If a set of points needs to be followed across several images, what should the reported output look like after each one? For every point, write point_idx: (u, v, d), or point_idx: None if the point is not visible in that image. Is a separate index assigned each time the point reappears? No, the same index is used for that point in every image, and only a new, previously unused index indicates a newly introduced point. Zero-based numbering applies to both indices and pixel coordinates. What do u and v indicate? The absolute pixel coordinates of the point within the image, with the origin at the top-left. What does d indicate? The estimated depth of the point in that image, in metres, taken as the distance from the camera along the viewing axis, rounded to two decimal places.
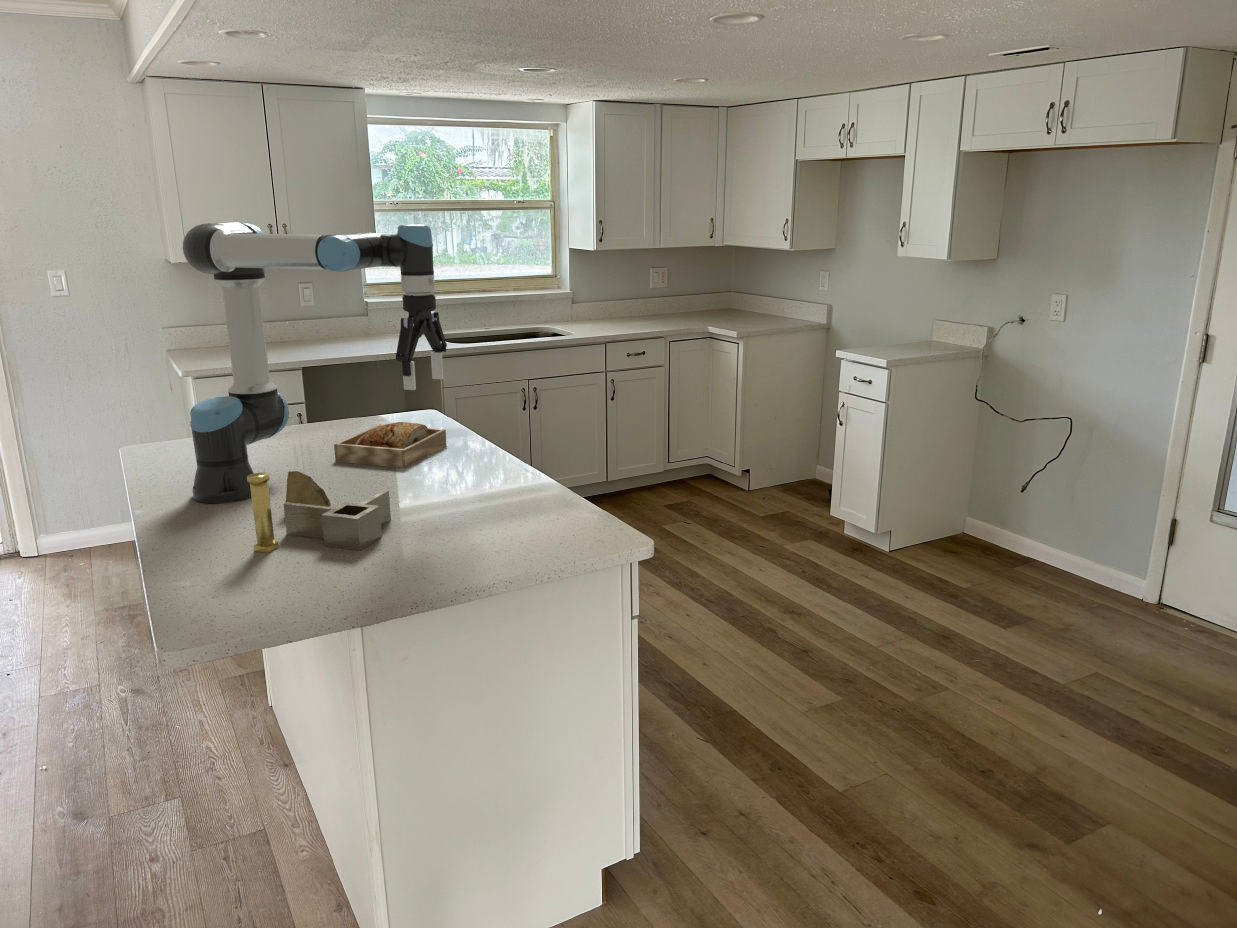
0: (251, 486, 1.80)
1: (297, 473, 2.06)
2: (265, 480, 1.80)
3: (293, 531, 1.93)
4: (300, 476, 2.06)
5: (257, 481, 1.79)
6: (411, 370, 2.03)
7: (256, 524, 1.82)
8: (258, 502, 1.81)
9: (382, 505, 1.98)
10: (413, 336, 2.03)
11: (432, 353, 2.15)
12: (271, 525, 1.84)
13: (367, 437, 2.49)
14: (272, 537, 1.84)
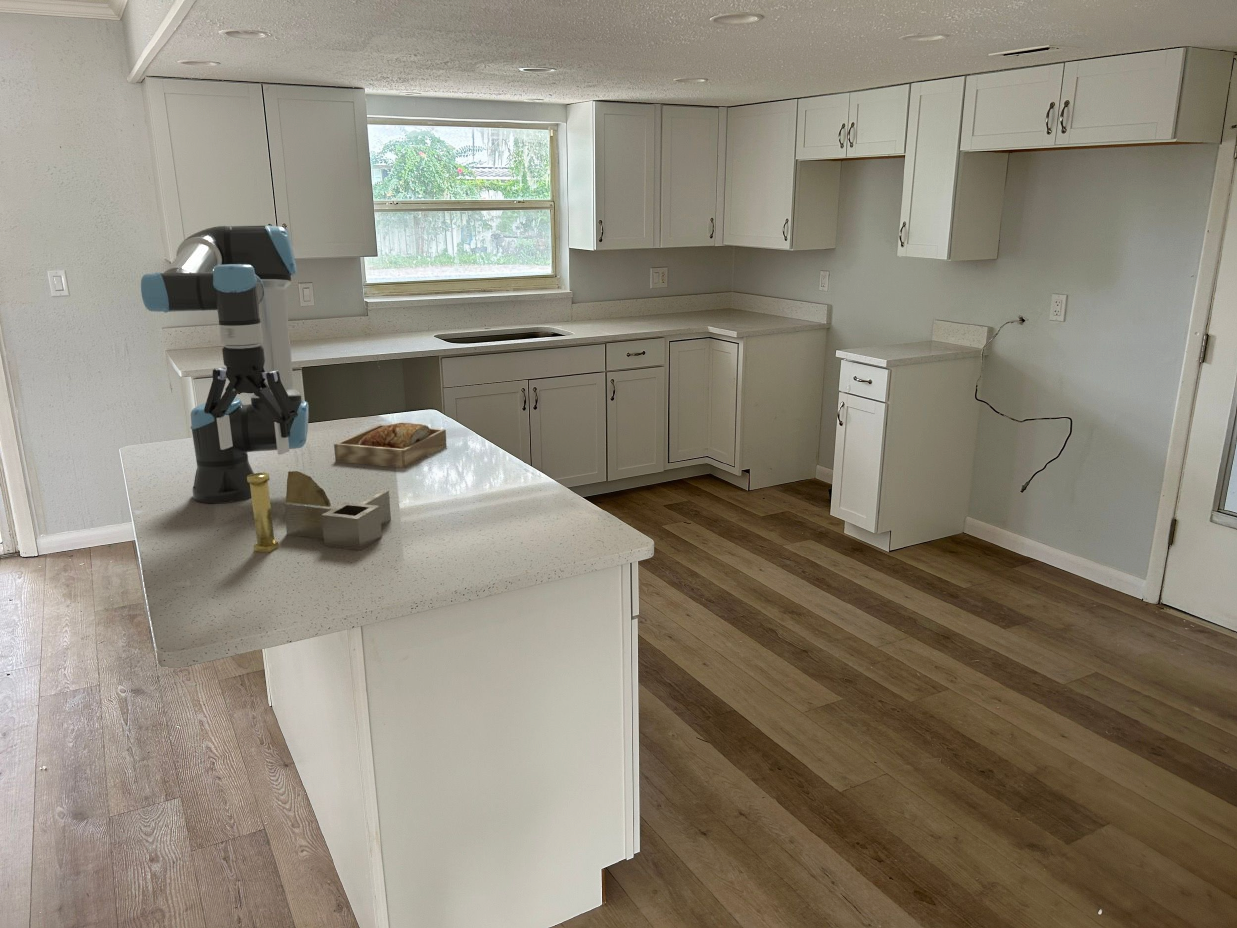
0: (251, 486, 1.80)
1: (297, 473, 2.06)
2: (265, 480, 1.80)
3: (293, 531, 1.93)
4: (300, 476, 2.06)
5: (257, 481, 1.79)
6: None
7: (256, 524, 1.82)
8: (258, 502, 1.81)
9: (382, 505, 1.98)
10: None
11: None
12: (271, 525, 1.84)
13: (369, 438, 2.49)
14: (272, 537, 1.84)
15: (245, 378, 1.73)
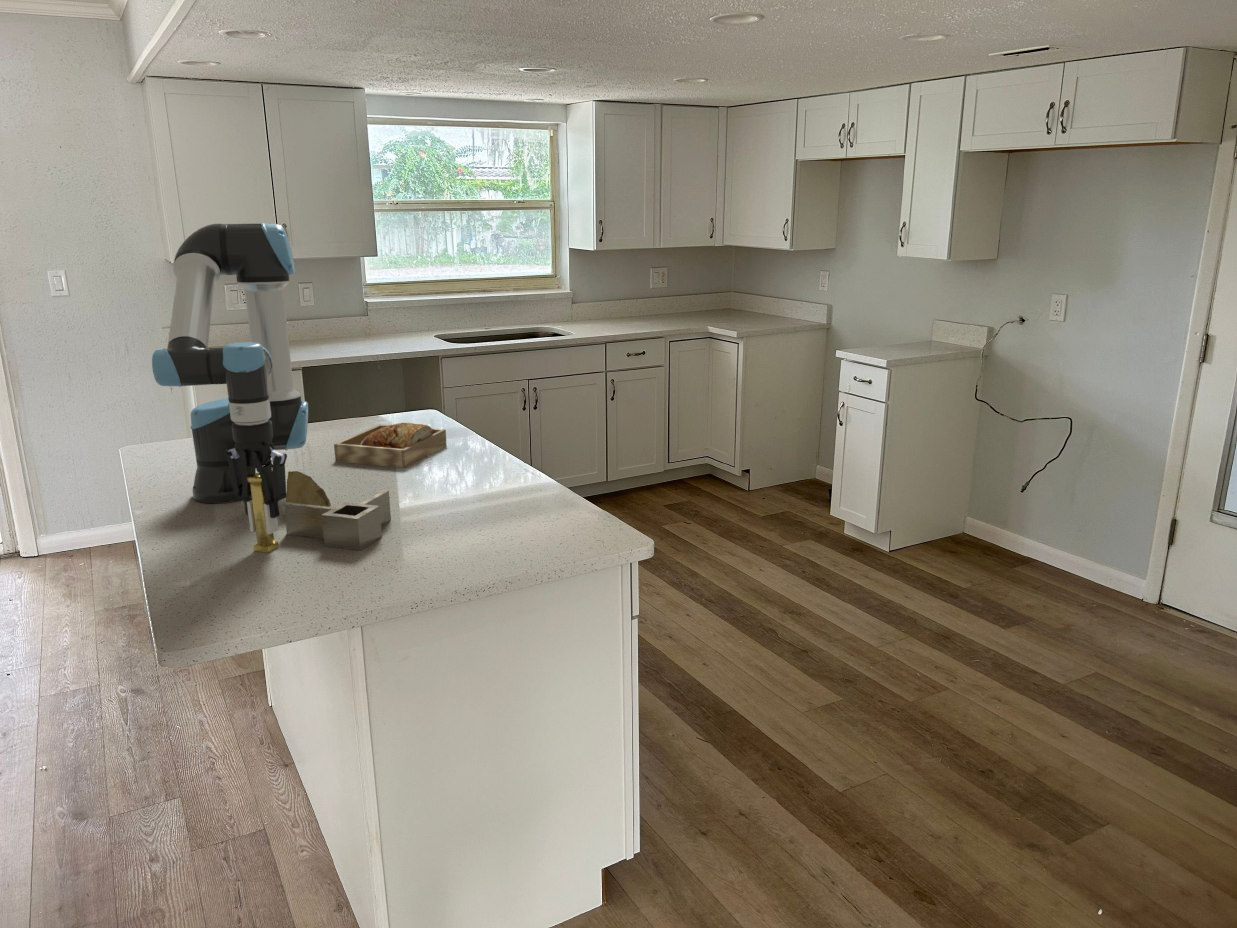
0: (251, 486, 1.80)
1: (297, 473, 2.06)
2: None
3: (293, 531, 1.93)
4: (300, 476, 2.06)
5: (257, 481, 1.79)
6: None
7: (256, 524, 1.82)
8: (258, 502, 1.81)
9: (382, 505, 1.98)
10: None
11: None
12: None
13: (371, 438, 2.49)
14: (272, 537, 1.84)
15: (255, 453, 1.77)
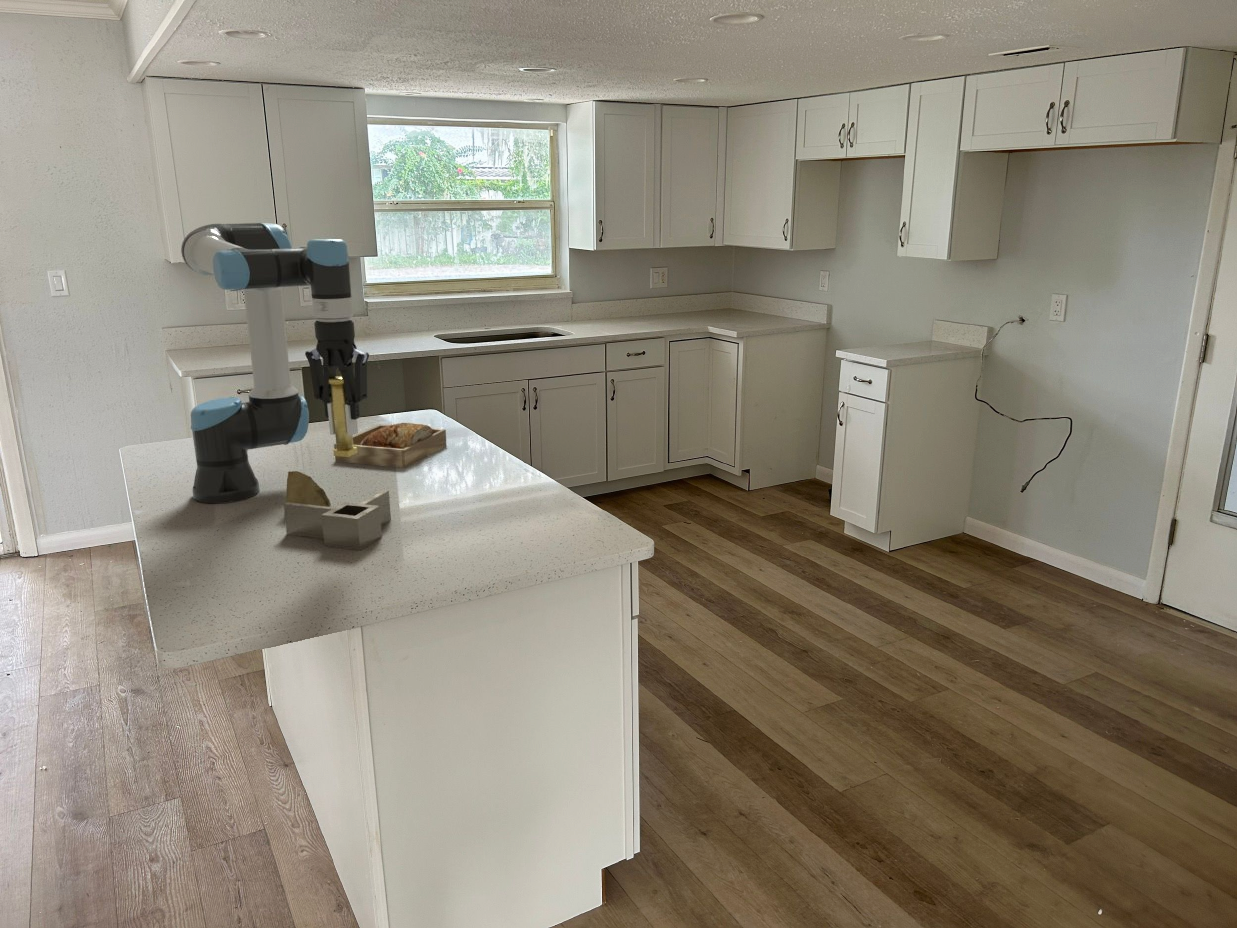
0: (332, 388, 1.79)
1: (297, 473, 2.06)
2: None
3: (293, 531, 1.93)
4: (300, 476, 2.06)
5: (339, 382, 1.78)
6: None
7: (336, 428, 1.81)
8: (339, 404, 1.79)
9: (382, 505, 1.98)
10: None
11: None
12: None
13: (371, 437, 2.49)
14: (352, 442, 1.83)
15: (337, 352, 1.76)
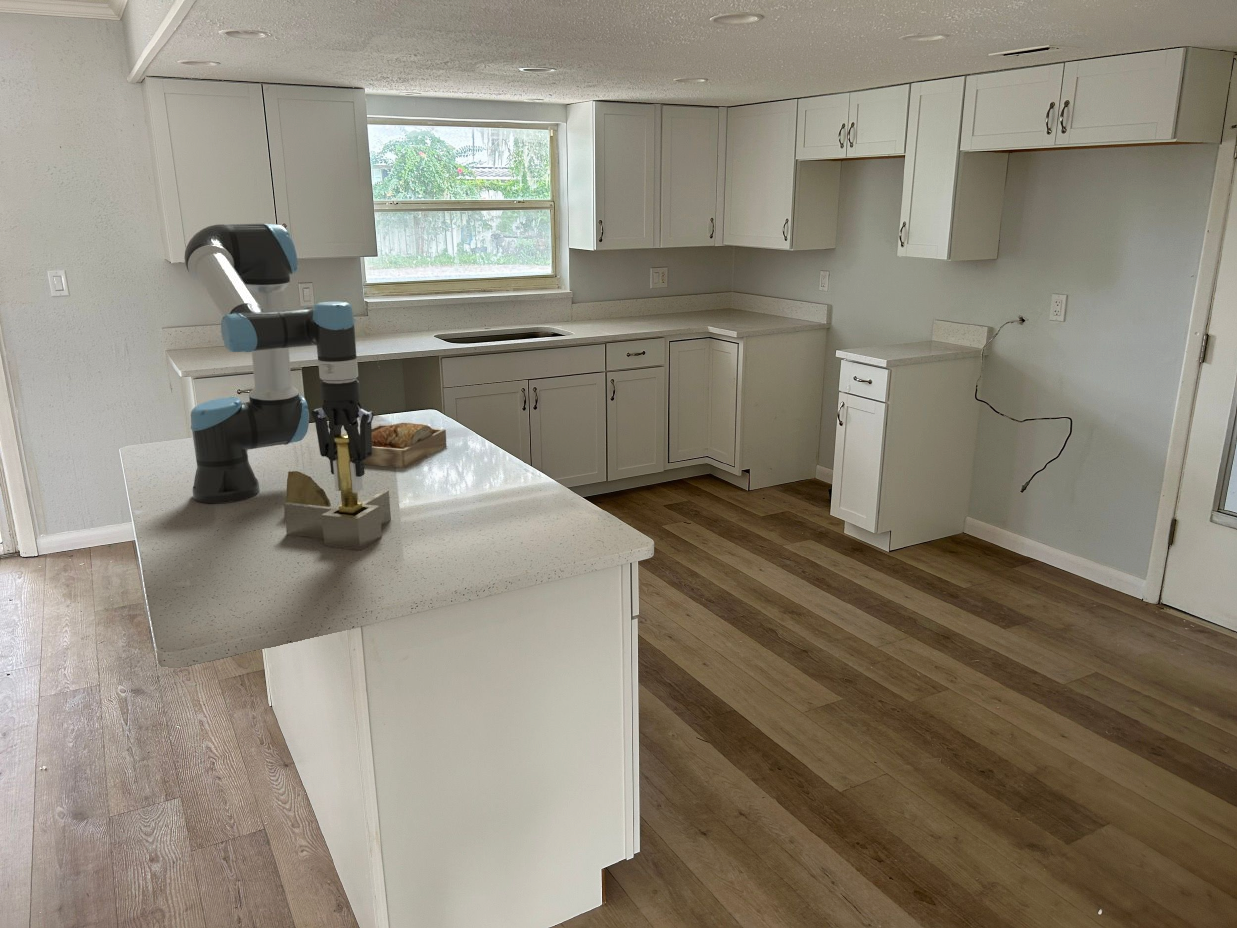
0: (338, 446, 1.82)
1: (297, 473, 2.06)
2: None
3: (293, 531, 1.93)
4: (300, 476, 2.06)
5: (344, 441, 1.81)
6: None
7: (342, 485, 1.84)
8: (344, 462, 1.83)
9: (382, 505, 1.98)
10: None
11: None
12: None
13: None
14: (357, 498, 1.86)
15: (343, 412, 1.79)
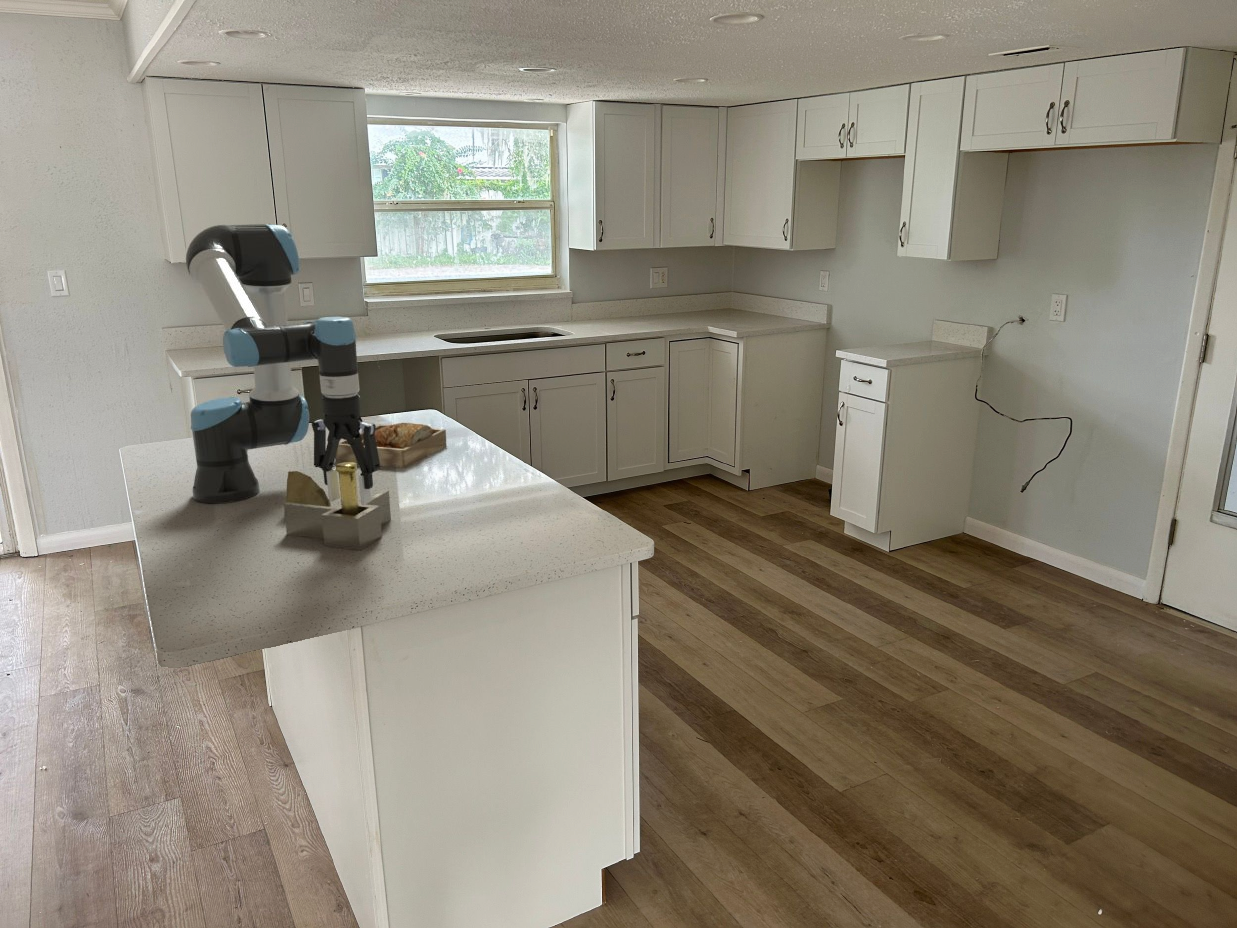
0: (340, 475, 1.84)
1: (297, 473, 2.06)
2: (354, 469, 1.84)
3: (293, 531, 1.93)
4: (300, 476, 2.06)
5: (346, 470, 1.83)
6: None
7: (344, 512, 1.86)
8: (347, 491, 1.85)
9: (382, 505, 1.98)
10: None
11: None
12: (358, 513, 1.88)
13: None
14: None
15: (344, 426, 1.80)
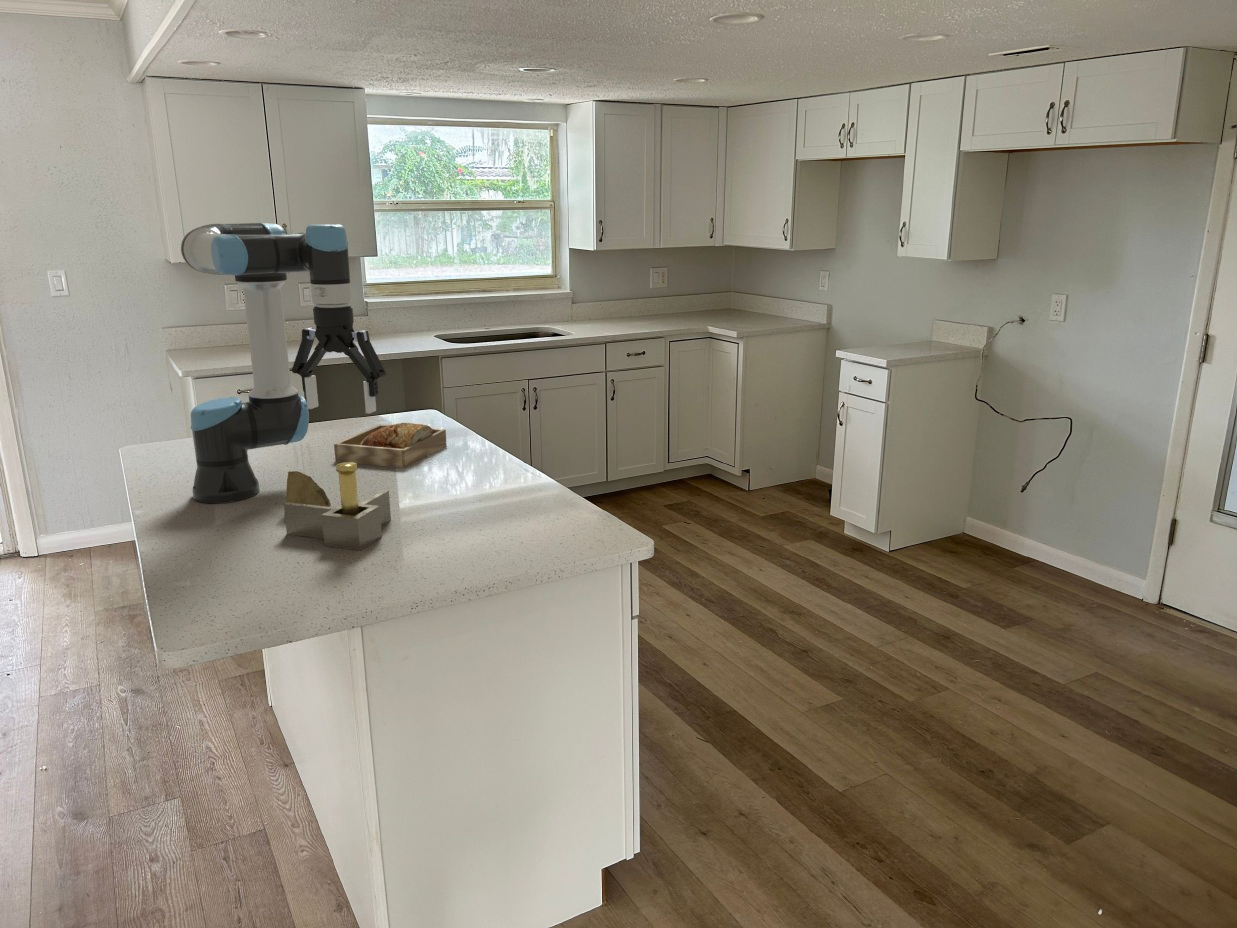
0: (340, 475, 1.84)
1: (297, 473, 2.06)
2: (354, 469, 1.84)
3: (293, 531, 1.93)
4: (300, 476, 2.06)
5: (346, 470, 1.83)
6: None
7: (344, 512, 1.86)
8: (347, 491, 1.85)
9: (382, 505, 1.98)
10: None
11: None
12: (358, 513, 1.88)
13: (371, 437, 2.49)
14: None
15: (335, 337, 1.75)
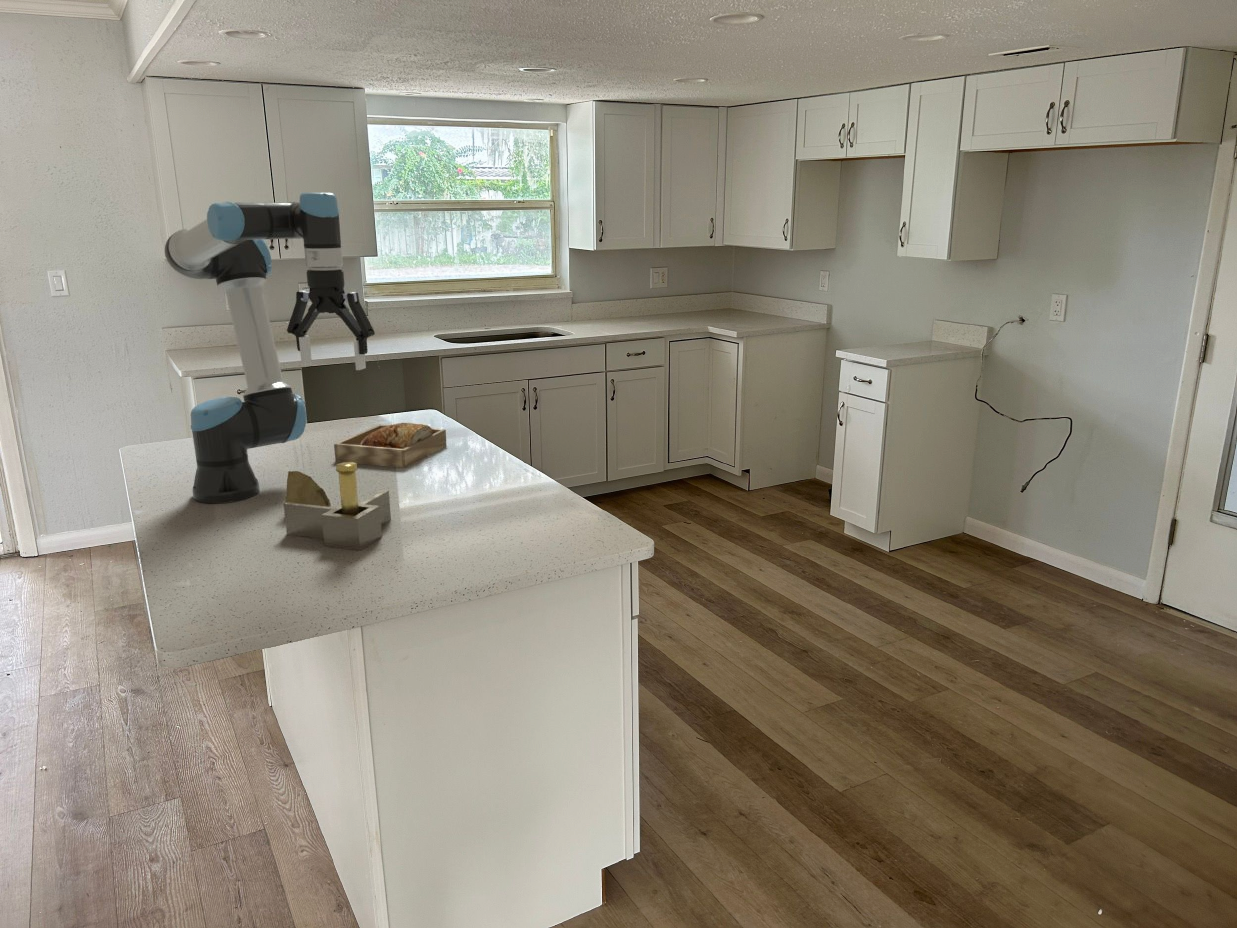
0: (340, 475, 1.84)
1: (297, 473, 2.06)
2: (354, 469, 1.84)
3: (293, 531, 1.93)
4: (300, 476, 2.06)
5: (346, 470, 1.83)
6: None
7: (344, 512, 1.86)
8: (347, 491, 1.85)
9: (382, 505, 1.98)
10: None
11: None
12: (358, 513, 1.88)
13: (371, 437, 2.49)
14: None
15: (327, 298, 1.88)
